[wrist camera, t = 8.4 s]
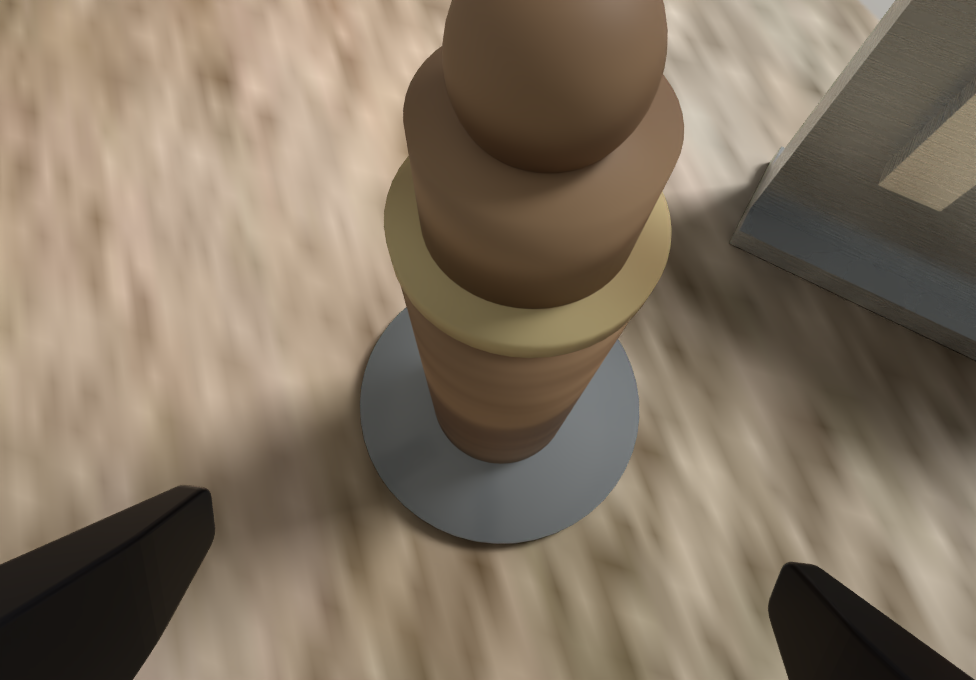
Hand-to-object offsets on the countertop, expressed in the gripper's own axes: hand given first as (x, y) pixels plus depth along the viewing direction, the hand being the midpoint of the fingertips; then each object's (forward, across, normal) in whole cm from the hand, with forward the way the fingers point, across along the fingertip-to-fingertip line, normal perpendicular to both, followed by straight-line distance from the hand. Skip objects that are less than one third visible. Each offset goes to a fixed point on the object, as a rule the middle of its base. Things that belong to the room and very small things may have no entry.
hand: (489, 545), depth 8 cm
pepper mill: (+12, 0, +3) cm, 12 cm away
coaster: (+12, 0, +4) cm, 12 cm away
